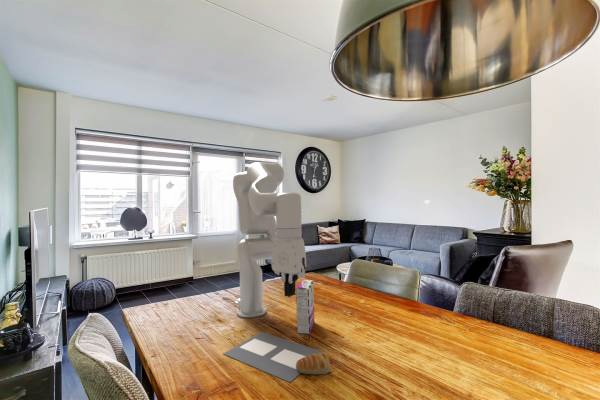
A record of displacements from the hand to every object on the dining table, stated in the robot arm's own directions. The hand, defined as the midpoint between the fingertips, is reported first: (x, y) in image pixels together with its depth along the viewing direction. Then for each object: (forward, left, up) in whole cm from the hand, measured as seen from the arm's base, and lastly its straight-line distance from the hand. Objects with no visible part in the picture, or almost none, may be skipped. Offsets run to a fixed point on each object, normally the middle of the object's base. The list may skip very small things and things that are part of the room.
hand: (289, 295), depth 87 cm
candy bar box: (-9, +21, -19) cm, 30 cm away
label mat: (-7, 0, -19) cm, 20 cm away
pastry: (+9, 0, -19) cm, 21 cm away
